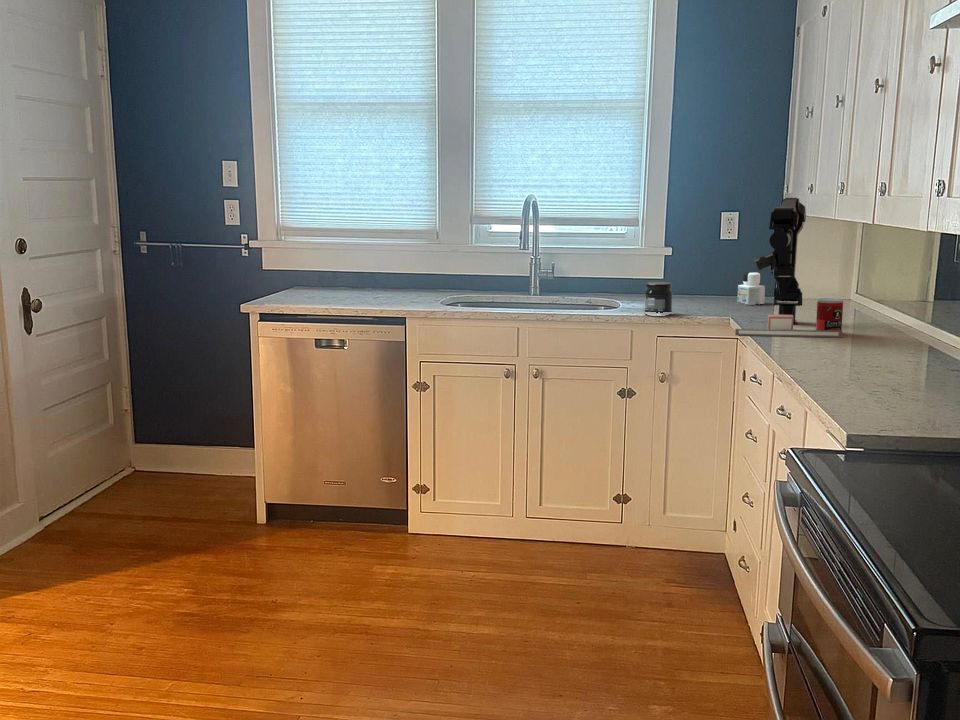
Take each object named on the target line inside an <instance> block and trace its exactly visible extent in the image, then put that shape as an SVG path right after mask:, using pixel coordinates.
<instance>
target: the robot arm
mask: <svg viewBox="0 0 960 720" xmlns="http://www.w3.org/2000/svg"><path fill="white" fill-rule="evenodd" d="M806 218H807V210H806V205H804V204H803V203H801V202H800V198H799V197H785V198H783V199H782V203H781V205H780V206H776V207H774V208H773V210H772V211H771V212H770V219H769V227H768V229H769V230H771V231H772V230H773V233H772V234H771V235H770V237H769V240H768V241H769V245H770V247H771V248H772V250H771V254H768V255H762V256H759V257H758V258H756V259H754V263H755V266H756V269H757V271H760V270H761V271H762V270H763V269H765V268H768V267H769V270H770V274H772V276H773V278H774V280H775V283H776V287H774V290H773V305H774V306H778V314H777V315H793V317H794V319H793V324H794V325H795V324H796V325H797V324H798V321H797V320H796V315H797V314H796V313H797V307H800V306H803V292H802V290H801V287H800V284H799V282H798V280H797V277H796V268H797V267H796V265H797V254H798V253H797V251H798V238H799V234H800V233H801V232H802V230H803V229H804V224H805V223H806V220H807V219H806Z"/></svg>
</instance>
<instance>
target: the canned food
mask: <svg viewBox="0 0 960 720" xmlns="http://www.w3.org/2000/svg"><path fill="white" fill-rule="evenodd" d="M816 303H817V304H816V320H815V321H816V323H815V330H833V331H842V332H843V329H842V328H843V313H844V312H843V310H844V299H842V298H831V297H830V298H829V297H824V298H821V297H820V298H817V302H816Z"/></svg>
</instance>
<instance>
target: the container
mask: <svg viewBox="0 0 960 720" xmlns="http://www.w3.org/2000/svg"><path fill="white" fill-rule="evenodd" d="M742 283H743V284H738V285H737V302H741V303H745V304H764V305H765V296H766V295H765V293H766V291H765V289H766V285H762V284H760V283H761V274H760V273H759V272H757V271H747V272H744V273H743V277H742Z"/></svg>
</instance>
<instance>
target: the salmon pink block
mask: <svg viewBox="0 0 960 720" xmlns="http://www.w3.org/2000/svg"><path fill="white" fill-rule="evenodd" d="M793 319H794V317H793V315H778V314H767V328H766V329H778V330H794V323H793Z"/></svg>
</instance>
